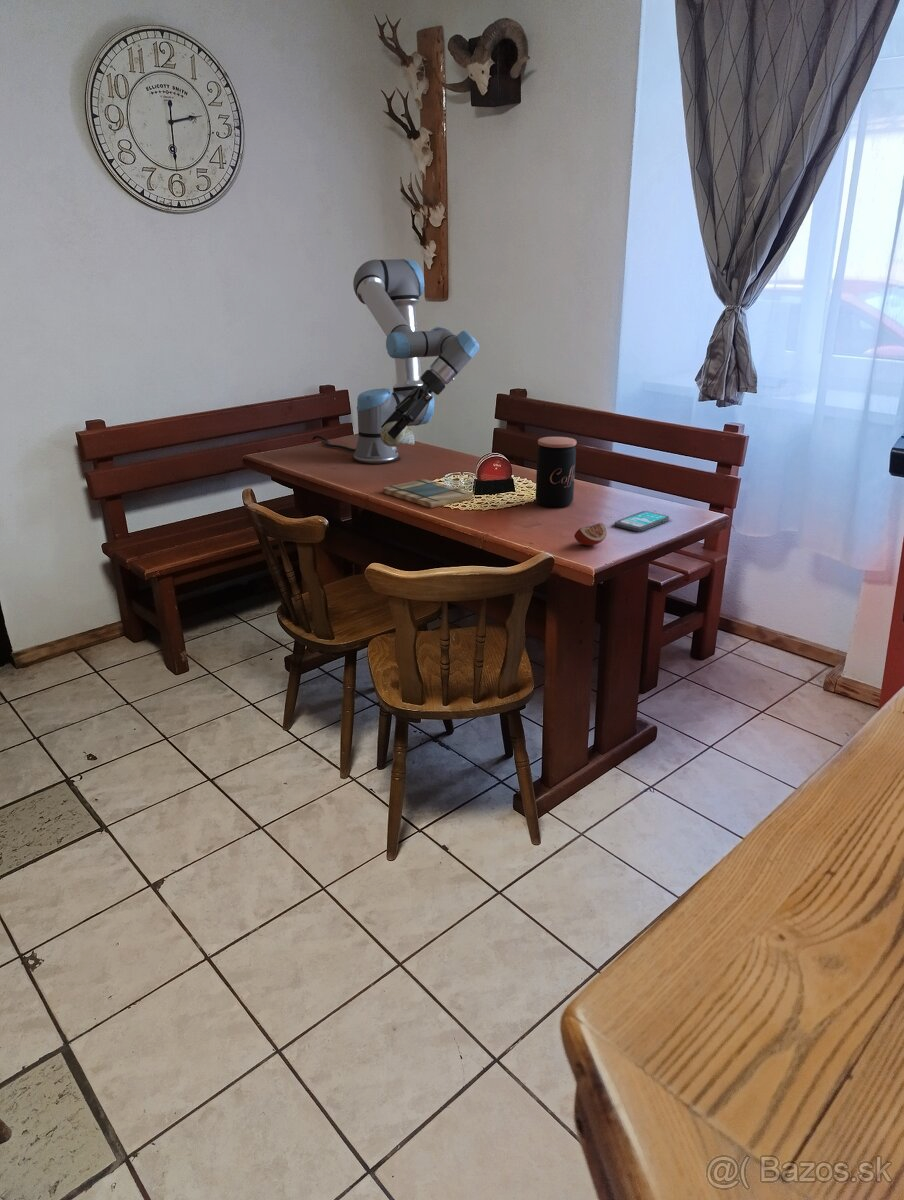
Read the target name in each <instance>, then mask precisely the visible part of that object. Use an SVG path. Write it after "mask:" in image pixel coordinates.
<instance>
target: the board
mask: <svg viewBox="0 0 904 1200" xmlns="http://www.w3.org/2000/svg"><path fill="white" fill-rule="evenodd" d="M382 493H383V494H386V495H389V496H392V497H396V498H398V499H402V500H405V501H408V502H411V503H414V504H417V505H421V506H423V507H426V508H430V509H433V508H437V507H441V506H445V505H448V504H453V503H457V502H461V501H465V500H469V499H473V498H474V497H473V496H474V495H473V493H474V492H471V491H468V490H464V489H461V488H457V487H454V486H450V485H446V484H444V483H440V482H437V481H434V480H433V481H432V480H429V479H426V478H421V479H416V480H413V481H412V480H411V481H408V482H403V483H399V484H394V485H389V486H386V487H385V486H384V487H382Z"/></svg>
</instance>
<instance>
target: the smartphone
mask: <svg viewBox="0 0 904 1200" xmlns="http://www.w3.org/2000/svg"><path fill="white" fill-rule="evenodd" d="M669 520H670V516H669V515H666V514H661V513H657V512H653V511H649V510H641V511H639V512H636V513H634V514H631V515H627V516H626V517H623V518H621V519H618V520H615V522H614V526H615V527H619V528H622V529H626V530H629V531H633V532H644V531H646V530H649V529H651V528H654V527H656V526H659V525H661V524H664V523H666V522H668V521H669Z"/></svg>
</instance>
